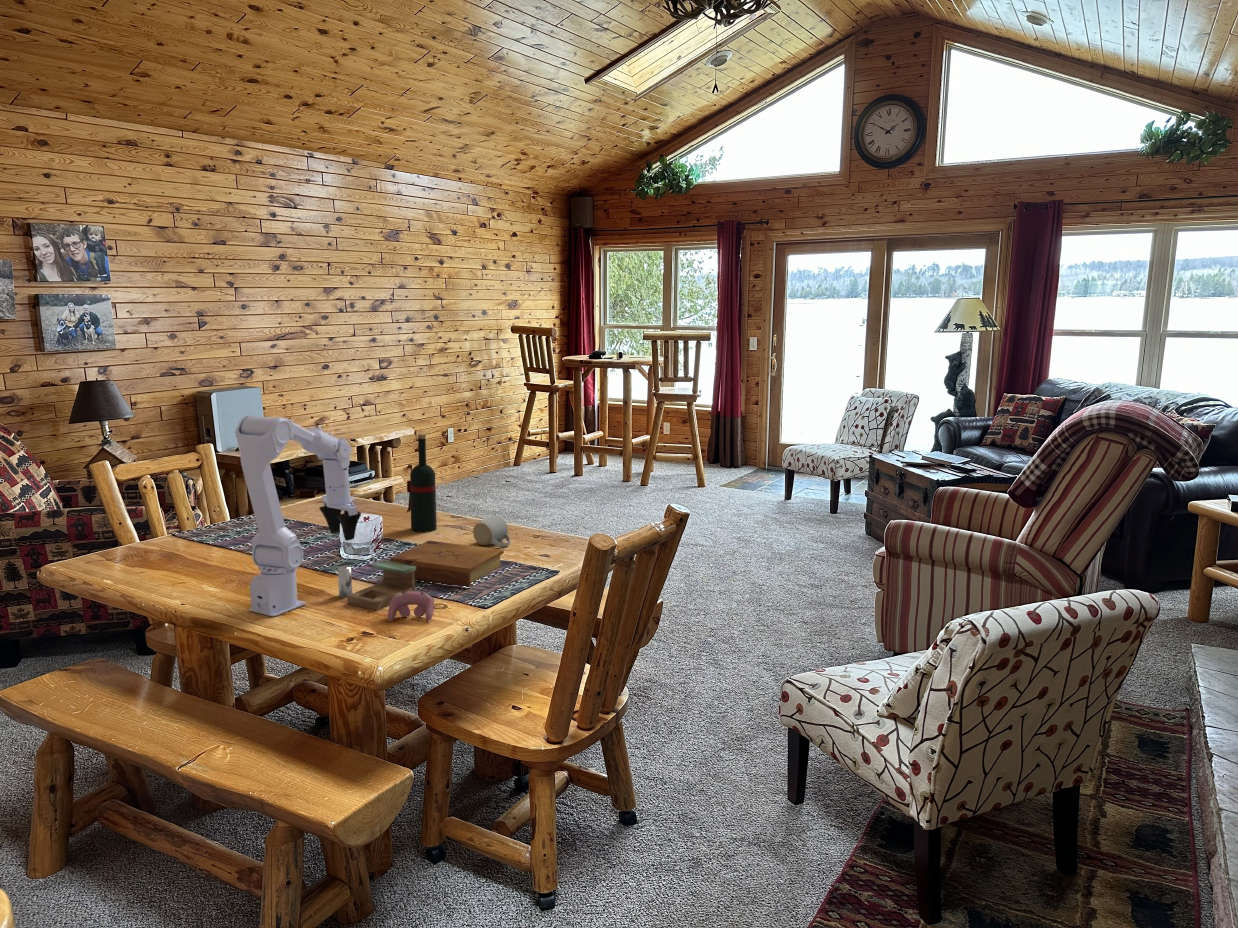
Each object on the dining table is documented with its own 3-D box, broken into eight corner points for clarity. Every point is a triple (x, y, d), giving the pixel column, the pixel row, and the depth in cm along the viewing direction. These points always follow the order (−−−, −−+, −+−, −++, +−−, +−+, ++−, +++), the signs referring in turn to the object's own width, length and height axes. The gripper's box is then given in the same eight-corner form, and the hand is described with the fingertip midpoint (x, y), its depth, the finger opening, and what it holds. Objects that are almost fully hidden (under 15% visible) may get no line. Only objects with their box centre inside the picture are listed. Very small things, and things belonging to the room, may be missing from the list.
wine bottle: (415, 523, 261) (413, 431, 255) (441, 527, 257) (440, 434, 251) (399, 529, 254) (397, 434, 248) (426, 533, 250) (424, 437, 244)
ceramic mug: (471, 544, 239) (471, 519, 238) (488, 538, 246) (488, 513, 245) (499, 550, 234) (499, 524, 233) (516, 544, 241) (517, 519, 240)
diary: (389, 580, 208) (388, 558, 207) (429, 560, 225) (428, 540, 224) (469, 591, 200) (468, 568, 199) (503, 569, 218) (503, 549, 217)
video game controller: (434, 623, 182) (436, 592, 184) (430, 621, 178) (433, 589, 180) (390, 623, 182) (392, 591, 184) (385, 621, 177) (388, 589, 179)
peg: (345, 598, 192) (344, 570, 191) (336, 596, 193) (335, 568, 192) (355, 594, 195) (354, 566, 194) (345, 592, 196) (344, 564, 195)
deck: (378, 610, 184) (377, 581, 183) (345, 603, 189) (344, 574, 188) (416, 594, 196) (416, 566, 195) (384, 587, 200) (384, 560, 199)
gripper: (366, 487, 201) (371, 538, 204) (338, 475, 211) (343, 525, 214) (339, 493, 196) (345, 545, 199) (312, 481, 206) (317, 531, 209)
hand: (342, 535), depth 206 cm, fingers open, 7 cm apart
